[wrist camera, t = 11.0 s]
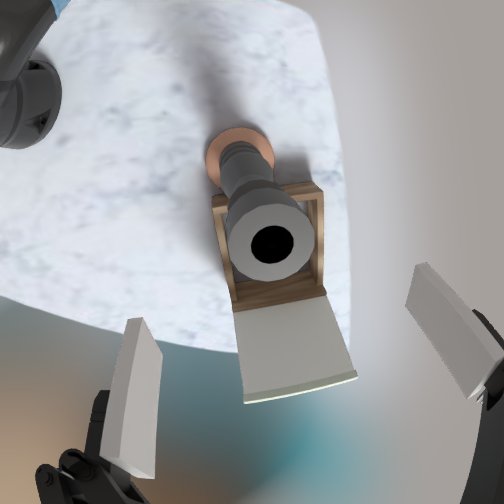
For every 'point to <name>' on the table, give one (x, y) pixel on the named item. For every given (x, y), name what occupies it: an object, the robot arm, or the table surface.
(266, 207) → the candle holder
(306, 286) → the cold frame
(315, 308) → the frame lid
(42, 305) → the table surface
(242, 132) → the saucer
